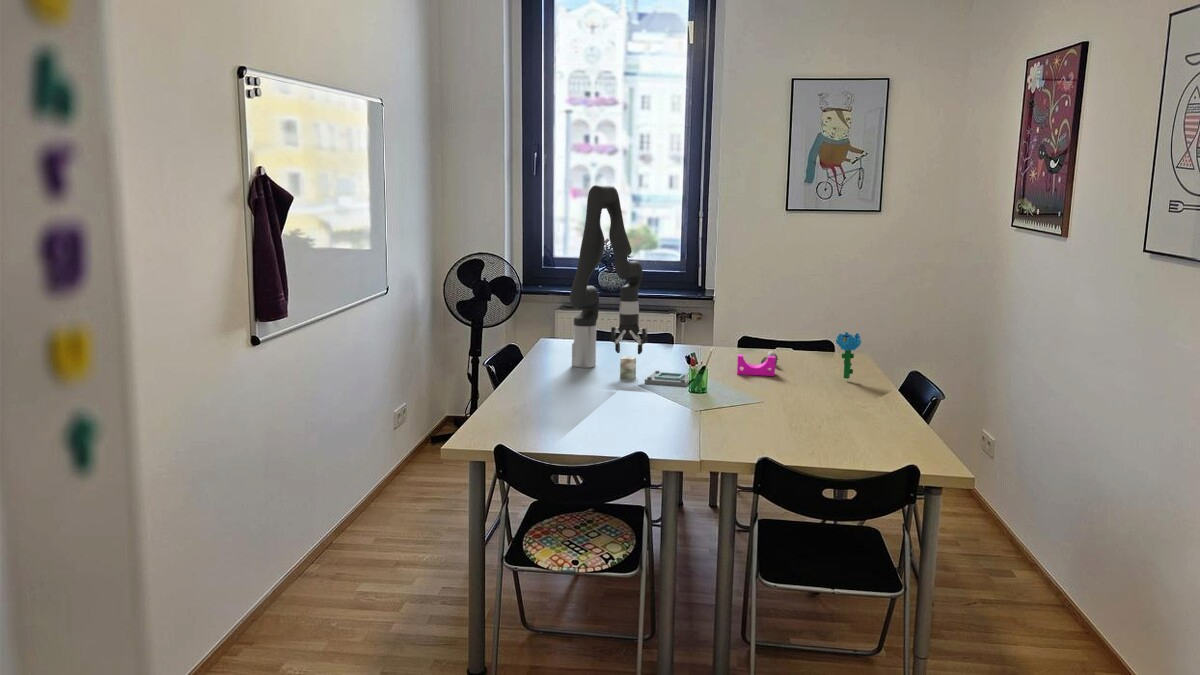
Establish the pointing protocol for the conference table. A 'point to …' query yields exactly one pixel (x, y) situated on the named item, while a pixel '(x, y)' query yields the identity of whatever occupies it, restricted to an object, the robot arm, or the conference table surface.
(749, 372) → the toy block
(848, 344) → the toy flower
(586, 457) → the conference table surface
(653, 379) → the baseplate
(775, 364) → the eagle figurine
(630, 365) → the beige block
